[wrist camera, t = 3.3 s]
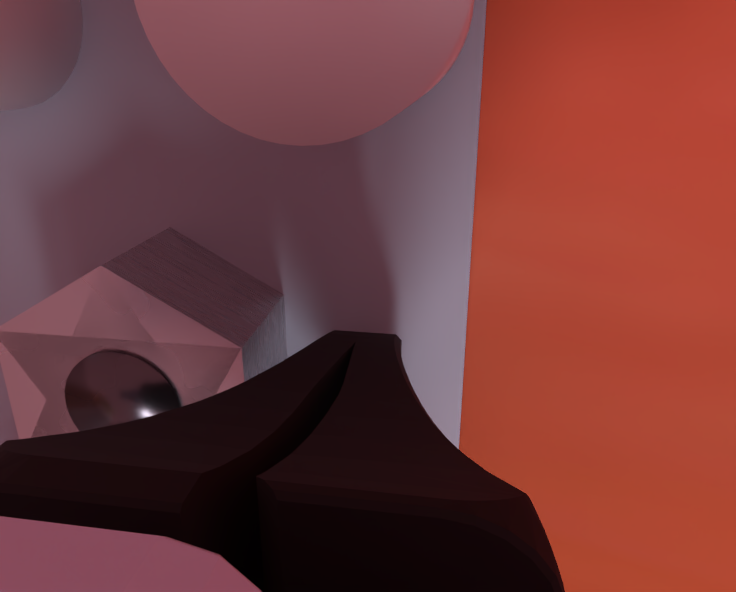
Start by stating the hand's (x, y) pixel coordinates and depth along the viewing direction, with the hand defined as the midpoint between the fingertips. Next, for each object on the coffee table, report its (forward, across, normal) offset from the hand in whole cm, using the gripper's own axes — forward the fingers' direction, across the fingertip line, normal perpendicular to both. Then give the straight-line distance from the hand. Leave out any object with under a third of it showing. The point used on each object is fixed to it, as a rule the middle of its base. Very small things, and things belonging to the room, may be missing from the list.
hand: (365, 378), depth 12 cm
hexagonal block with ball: (+1, +4, 0) cm, 4 cm away
